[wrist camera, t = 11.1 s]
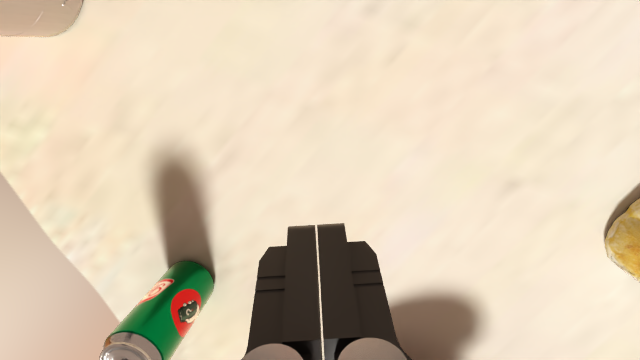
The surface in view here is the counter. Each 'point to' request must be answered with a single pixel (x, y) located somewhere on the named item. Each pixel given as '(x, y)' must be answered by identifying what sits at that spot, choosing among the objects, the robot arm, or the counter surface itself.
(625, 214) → the bread roll
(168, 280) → the soda can
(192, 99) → the counter surface
